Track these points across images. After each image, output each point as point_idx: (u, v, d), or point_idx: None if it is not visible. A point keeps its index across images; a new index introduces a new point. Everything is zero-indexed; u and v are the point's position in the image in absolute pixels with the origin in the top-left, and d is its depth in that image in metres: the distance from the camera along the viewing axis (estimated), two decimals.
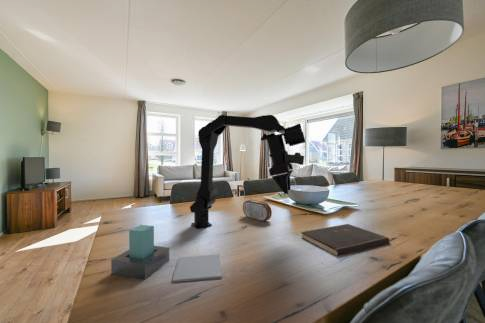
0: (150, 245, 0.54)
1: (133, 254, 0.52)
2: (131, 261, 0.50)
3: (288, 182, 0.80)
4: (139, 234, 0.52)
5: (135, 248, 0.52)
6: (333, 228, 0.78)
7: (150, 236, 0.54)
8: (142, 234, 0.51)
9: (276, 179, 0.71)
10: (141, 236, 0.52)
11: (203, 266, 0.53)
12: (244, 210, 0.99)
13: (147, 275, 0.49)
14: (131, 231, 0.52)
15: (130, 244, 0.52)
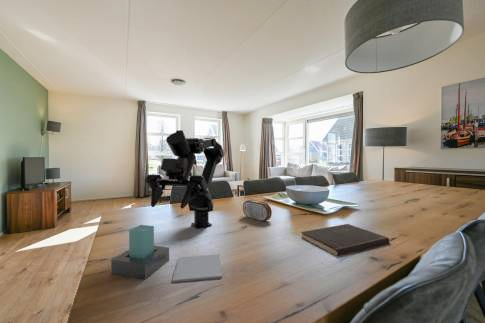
0: (150, 245, 0.54)
1: (133, 254, 0.52)
2: (131, 261, 0.50)
3: None
4: (139, 234, 0.52)
5: (135, 248, 0.52)
6: (333, 228, 0.78)
7: (150, 236, 0.54)
8: (142, 234, 0.51)
9: None
10: (141, 236, 0.52)
11: (203, 266, 0.53)
12: (244, 210, 0.99)
13: (147, 275, 0.49)
14: (131, 231, 0.52)
15: (130, 244, 0.52)
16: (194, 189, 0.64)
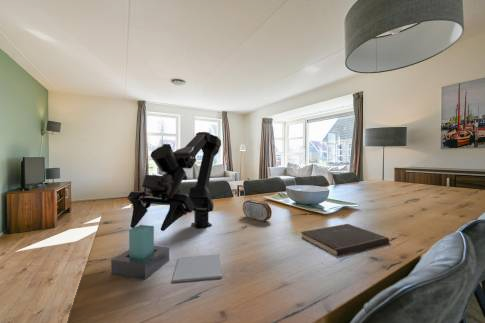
0: (150, 245, 0.54)
1: (133, 254, 0.52)
2: (131, 261, 0.50)
3: None
4: (139, 234, 0.52)
5: (135, 248, 0.52)
6: (333, 228, 0.78)
7: (150, 236, 0.54)
8: (142, 234, 0.51)
9: None
10: (141, 236, 0.52)
11: (203, 266, 0.53)
12: (244, 210, 0.99)
13: (147, 275, 0.49)
14: (131, 231, 0.52)
15: (130, 244, 0.52)
16: (178, 209, 0.58)
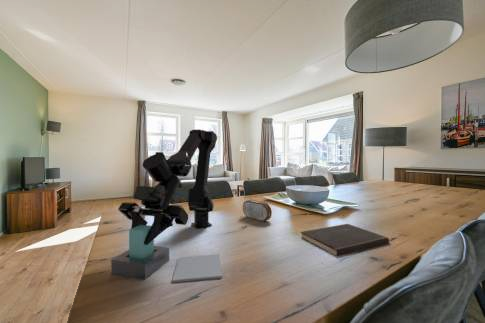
0: (150, 245, 0.54)
1: (133, 254, 0.52)
2: (131, 261, 0.50)
3: None
4: (139, 234, 0.52)
5: (135, 248, 0.52)
6: (333, 228, 0.78)
7: None
8: (142, 234, 0.51)
9: None
10: (140, 236, 0.51)
11: (203, 266, 0.53)
12: (244, 210, 0.99)
13: (147, 275, 0.49)
14: (131, 231, 0.52)
15: (130, 244, 0.52)
16: (163, 221, 0.56)
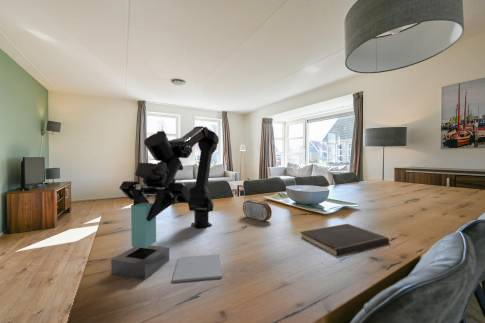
0: (152, 222, 0.54)
1: (135, 230, 0.52)
2: (131, 261, 0.50)
3: None
4: (142, 210, 0.51)
5: (137, 224, 0.52)
6: (333, 228, 0.78)
7: None
8: (144, 210, 0.51)
9: None
10: (143, 212, 0.51)
11: (203, 266, 0.53)
12: (244, 210, 0.99)
13: (147, 275, 0.49)
14: (133, 207, 0.52)
15: (132, 221, 0.52)
16: (165, 198, 0.56)
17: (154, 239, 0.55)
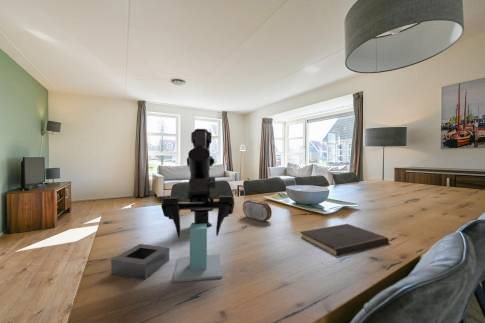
0: None
1: (194, 253, 0.51)
2: (131, 261, 0.50)
3: None
4: (202, 232, 0.52)
5: (197, 247, 0.51)
6: (333, 228, 0.78)
7: None
8: (205, 231, 0.52)
9: (174, 219, 0.56)
10: (204, 234, 0.52)
11: None
12: (244, 210, 0.99)
13: (147, 275, 0.49)
14: (192, 230, 0.51)
15: (191, 244, 0.51)
16: (223, 211, 0.58)
17: None
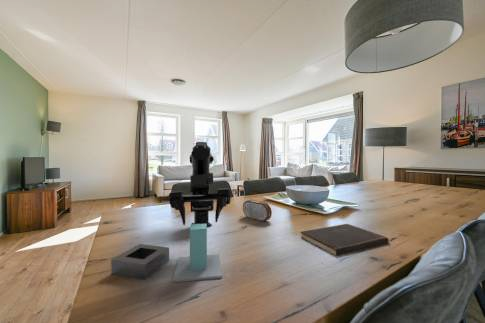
0: None
1: (194, 253, 0.51)
2: (131, 261, 0.50)
3: None
4: (202, 232, 0.52)
5: (197, 247, 0.51)
6: (332, 228, 0.78)
7: None
8: (205, 231, 0.52)
9: (179, 210, 0.66)
10: (204, 234, 0.52)
11: None
12: (244, 210, 0.99)
13: (147, 275, 0.49)
14: (192, 230, 0.51)
15: (191, 244, 0.51)
16: (221, 202, 0.67)
17: None
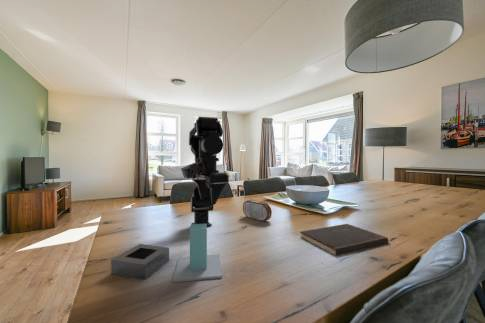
0: None
1: (194, 253, 0.51)
2: (131, 261, 0.50)
3: None
4: (202, 232, 0.52)
5: (197, 247, 0.51)
6: (332, 228, 0.78)
7: None
8: (205, 231, 0.52)
9: None
10: (204, 234, 0.52)
11: None
12: (244, 210, 0.99)
13: (147, 275, 0.49)
14: (192, 230, 0.51)
15: (191, 244, 0.51)
16: (216, 184, 0.65)
17: None
